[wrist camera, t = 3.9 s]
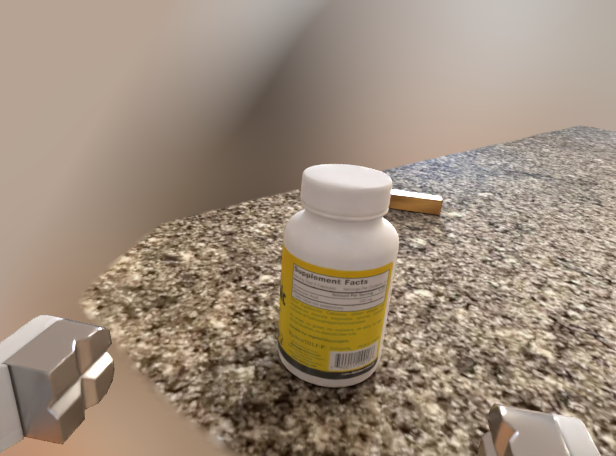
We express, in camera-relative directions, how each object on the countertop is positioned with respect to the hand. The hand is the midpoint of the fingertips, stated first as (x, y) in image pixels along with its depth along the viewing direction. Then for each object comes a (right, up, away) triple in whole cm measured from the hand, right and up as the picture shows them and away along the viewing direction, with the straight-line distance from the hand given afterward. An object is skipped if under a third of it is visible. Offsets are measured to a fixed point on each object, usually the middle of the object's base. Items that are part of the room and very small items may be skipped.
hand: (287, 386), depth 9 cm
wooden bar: (+9, +6, +37) cm, 39 cm away
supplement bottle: (+1, -4, +14) cm, 14 cm away
